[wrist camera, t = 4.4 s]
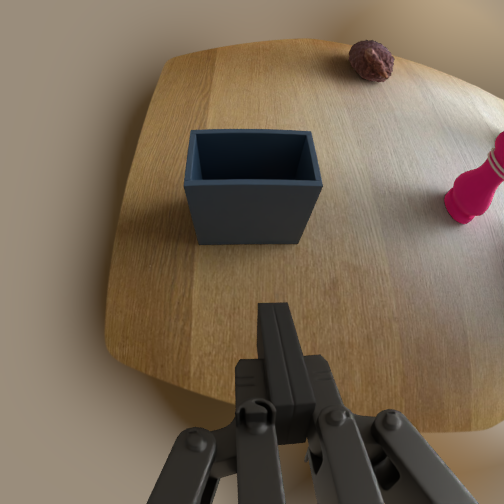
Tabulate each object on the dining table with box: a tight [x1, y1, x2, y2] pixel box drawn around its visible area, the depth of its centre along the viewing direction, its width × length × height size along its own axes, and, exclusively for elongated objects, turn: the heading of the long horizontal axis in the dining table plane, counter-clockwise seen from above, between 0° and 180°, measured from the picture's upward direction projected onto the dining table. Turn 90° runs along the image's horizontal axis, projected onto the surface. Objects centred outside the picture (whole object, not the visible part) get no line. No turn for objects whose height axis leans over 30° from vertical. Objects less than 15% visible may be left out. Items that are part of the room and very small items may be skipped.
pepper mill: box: [444, 131, 504, 224], centre depth 31 cm, size 7×7×20 cm
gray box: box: [184, 129, 323, 245], centre depth 31 cm, size 7×12×12 cm, turn 92°
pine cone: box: [349, 40, 394, 82], centre depth 50 cm, size 18×10×10 cm
